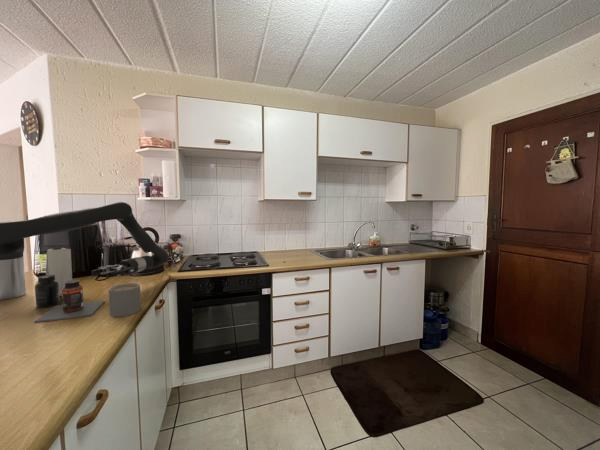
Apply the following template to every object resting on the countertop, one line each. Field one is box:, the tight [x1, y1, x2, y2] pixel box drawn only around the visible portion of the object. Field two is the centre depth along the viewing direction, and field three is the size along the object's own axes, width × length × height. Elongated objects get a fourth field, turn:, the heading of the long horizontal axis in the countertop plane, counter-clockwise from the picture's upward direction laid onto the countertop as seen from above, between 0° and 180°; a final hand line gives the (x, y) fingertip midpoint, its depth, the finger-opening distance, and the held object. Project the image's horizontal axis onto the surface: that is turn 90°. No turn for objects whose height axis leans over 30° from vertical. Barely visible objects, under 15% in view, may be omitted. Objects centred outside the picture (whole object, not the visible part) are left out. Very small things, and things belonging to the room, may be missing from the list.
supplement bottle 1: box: [34, 274, 61, 309], centre depth 100 cm, size 7×7×12 cm
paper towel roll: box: [46, 247, 73, 297], centre depth 110 cm, size 7×6×21 cm
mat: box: [34, 300, 105, 324], centre depth 95 cm, size 16×14×1 cm
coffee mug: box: [108, 282, 142, 318], centre depth 98 cm, size 13×10×10 cm
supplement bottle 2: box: [61, 279, 85, 312], centre depth 95 cm, size 6×6×11 cm
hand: (99, 274), depth 105 cm, fingers open, 8 cm apart
